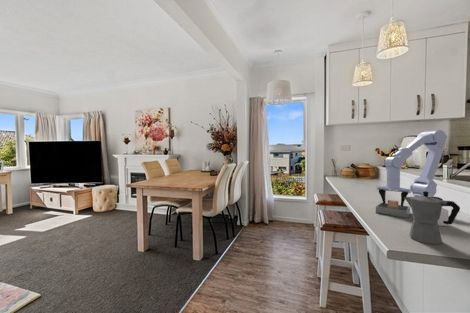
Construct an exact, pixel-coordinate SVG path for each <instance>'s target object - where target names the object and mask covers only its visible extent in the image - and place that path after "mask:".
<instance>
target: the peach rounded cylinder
mask: <svg viewBox="0 0 470 313" xmlns="http://www.w3.org/2000/svg"><path fill="white" fill-rule="evenodd" d="M387 204H388V208H391V209H397V210H398V205H399V201H398V200H394V199H388V200H387Z"/></svg>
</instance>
